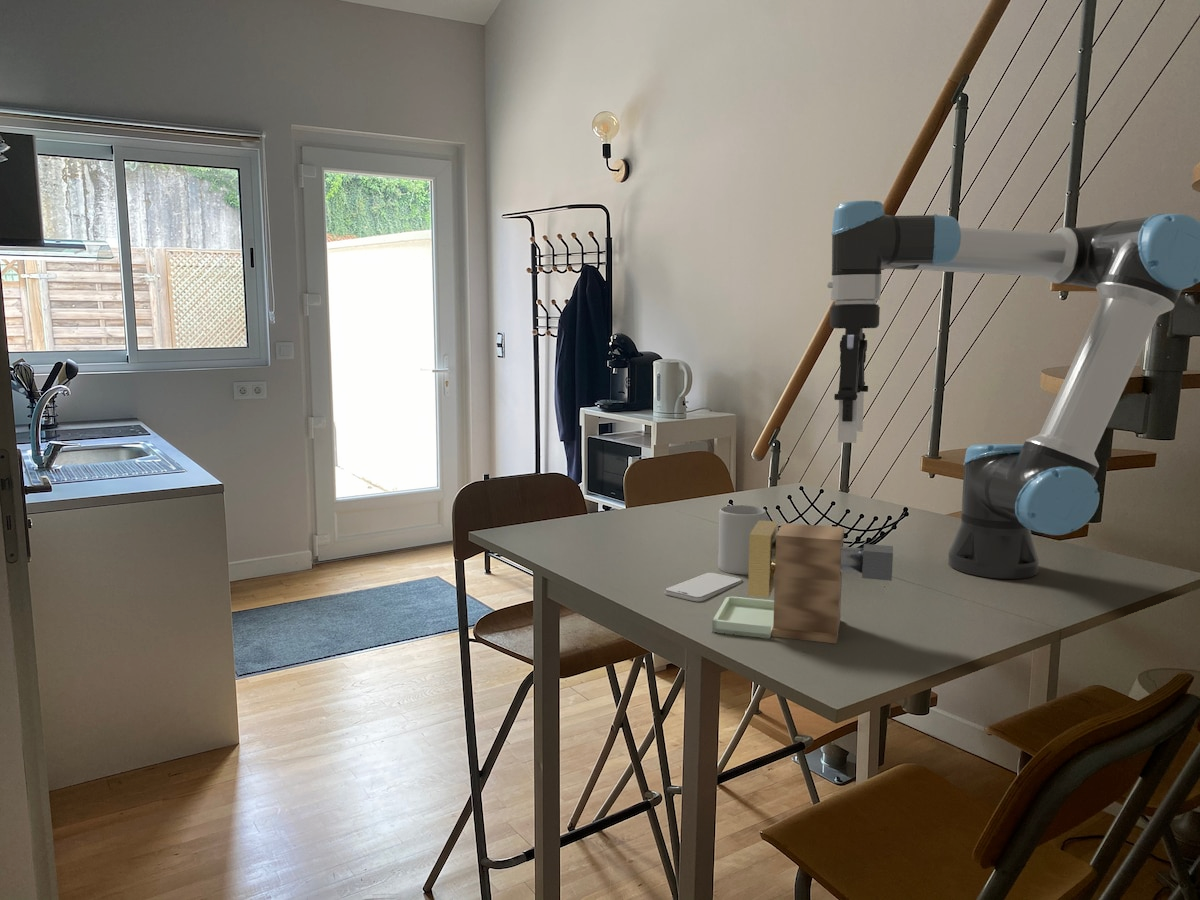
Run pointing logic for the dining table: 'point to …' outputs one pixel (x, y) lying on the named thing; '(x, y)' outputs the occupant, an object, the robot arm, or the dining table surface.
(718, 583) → the smartphone
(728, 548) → the mug
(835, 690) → the dining table surface
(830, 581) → the walnut housing
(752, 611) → the green tray
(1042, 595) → the dining table surface
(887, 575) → the steel shaft
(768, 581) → the yellow square block
